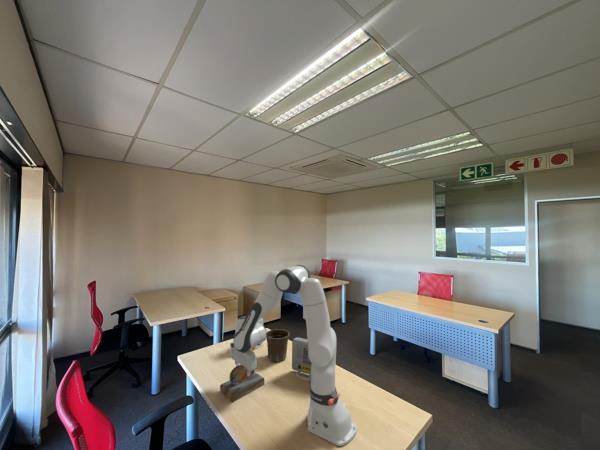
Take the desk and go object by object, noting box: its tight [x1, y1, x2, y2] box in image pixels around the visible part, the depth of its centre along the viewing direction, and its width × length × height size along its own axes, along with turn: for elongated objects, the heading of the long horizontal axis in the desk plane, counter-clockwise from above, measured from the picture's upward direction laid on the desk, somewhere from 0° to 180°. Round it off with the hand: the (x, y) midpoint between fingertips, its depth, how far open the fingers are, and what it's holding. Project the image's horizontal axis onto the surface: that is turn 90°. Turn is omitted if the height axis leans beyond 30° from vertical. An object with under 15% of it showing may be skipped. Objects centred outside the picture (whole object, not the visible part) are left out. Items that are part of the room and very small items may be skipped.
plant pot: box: [265, 328, 290, 363], centre depth 167 cm, size 16×16×16 cm
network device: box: [291, 337, 312, 382], centre depth 145 cm, size 26×9×20 cm, turn 65°
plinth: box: [219, 372, 265, 403], centre depth 134 cm, size 12×20×4 cm, turn 137°
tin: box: [229, 364, 256, 385], centre depth 134 cm, size 15×3×8 cm, turn 137°
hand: (243, 372), depth 134 cm, fingers open, 8 cm apart
